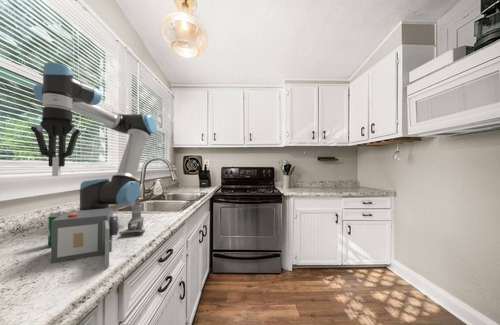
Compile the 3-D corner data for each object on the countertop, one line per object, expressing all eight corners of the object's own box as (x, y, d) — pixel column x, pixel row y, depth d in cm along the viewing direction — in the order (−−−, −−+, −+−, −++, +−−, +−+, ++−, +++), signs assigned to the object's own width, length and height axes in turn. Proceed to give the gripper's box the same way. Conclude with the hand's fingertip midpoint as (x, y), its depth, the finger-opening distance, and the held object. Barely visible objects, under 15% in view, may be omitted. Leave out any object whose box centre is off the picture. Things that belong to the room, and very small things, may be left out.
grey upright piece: (147, 202, 99) (143, 208, 85) (147, 226, 99) (142, 236, 85) (127, 203, 96) (119, 210, 82) (127, 228, 96) (119, 238, 82)
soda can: (51, 243, 77) (52, 212, 77) (68, 241, 79) (69, 210, 79) (44, 248, 72) (45, 214, 73) (62, 245, 74) (63, 213, 75)
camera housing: (66, 247, 73) (67, 209, 73) (119, 239, 81) (120, 205, 81) (50, 263, 61) (51, 218, 61) (115, 252, 68) (115, 212, 69)
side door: (102, 267, 57) (103, 229, 57) (102, 253, 66) (102, 220, 67) (111, 265, 58) (111, 228, 59) (109, 252, 68) (110, 219, 68)
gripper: (26, 103, 63) (24, 177, 63) (78, 108, 70) (77, 176, 69) (37, 109, 70) (35, 176, 69) (84, 113, 76) (83, 175, 76)
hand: (56, 176), depth 69 cm, fingers closed
